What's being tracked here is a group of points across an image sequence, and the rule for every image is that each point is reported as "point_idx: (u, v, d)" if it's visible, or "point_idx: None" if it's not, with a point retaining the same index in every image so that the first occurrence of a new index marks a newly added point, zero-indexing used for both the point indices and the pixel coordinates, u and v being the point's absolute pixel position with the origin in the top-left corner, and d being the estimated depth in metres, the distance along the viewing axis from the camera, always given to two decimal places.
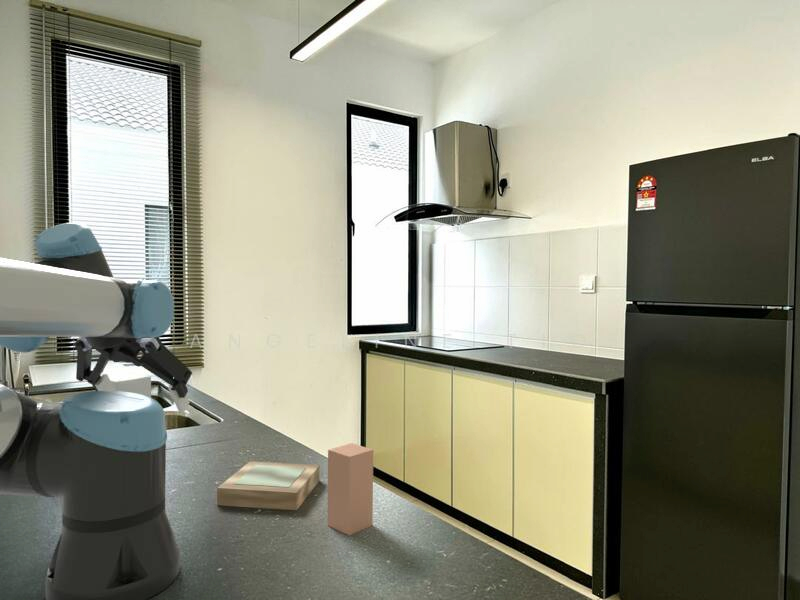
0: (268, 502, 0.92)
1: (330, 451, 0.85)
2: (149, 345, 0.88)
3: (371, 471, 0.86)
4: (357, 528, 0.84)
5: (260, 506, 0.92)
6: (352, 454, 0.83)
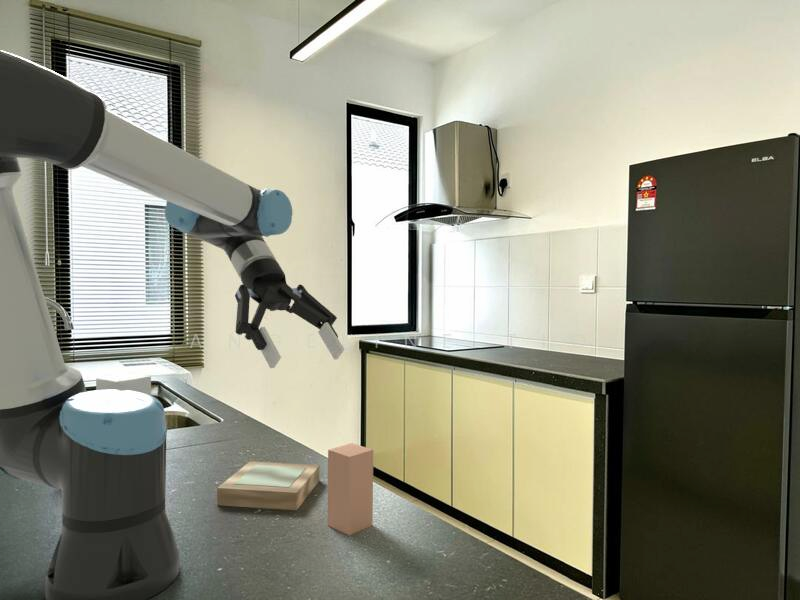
0: (268, 502, 0.92)
1: (330, 451, 0.85)
2: (301, 285, 1.04)
3: (371, 471, 0.86)
4: (357, 528, 0.84)
5: (260, 506, 0.92)
6: (352, 454, 0.83)
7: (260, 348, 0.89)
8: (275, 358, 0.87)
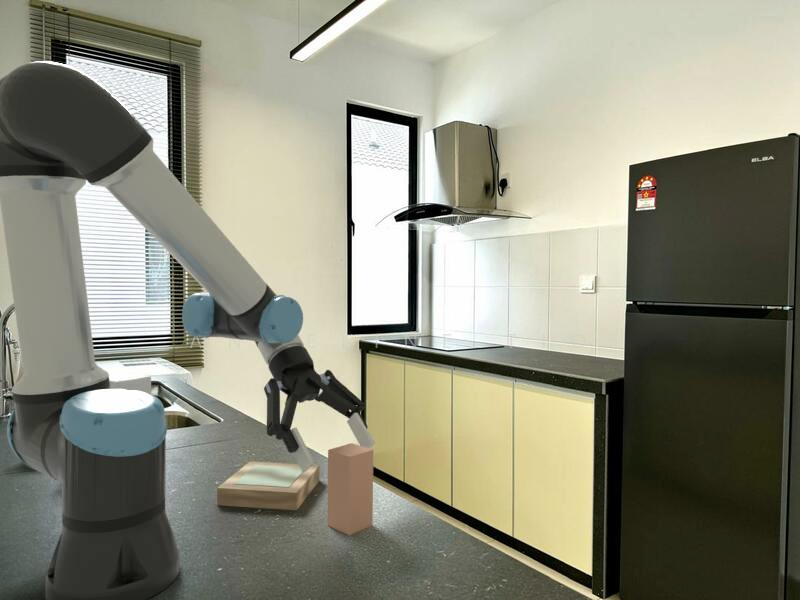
0: (268, 502, 0.92)
1: (330, 451, 0.85)
2: (329, 370, 1.02)
3: (371, 471, 0.86)
4: (357, 528, 0.84)
5: (260, 506, 0.92)
6: (352, 454, 0.83)
7: (293, 451, 0.86)
8: (308, 463, 0.85)
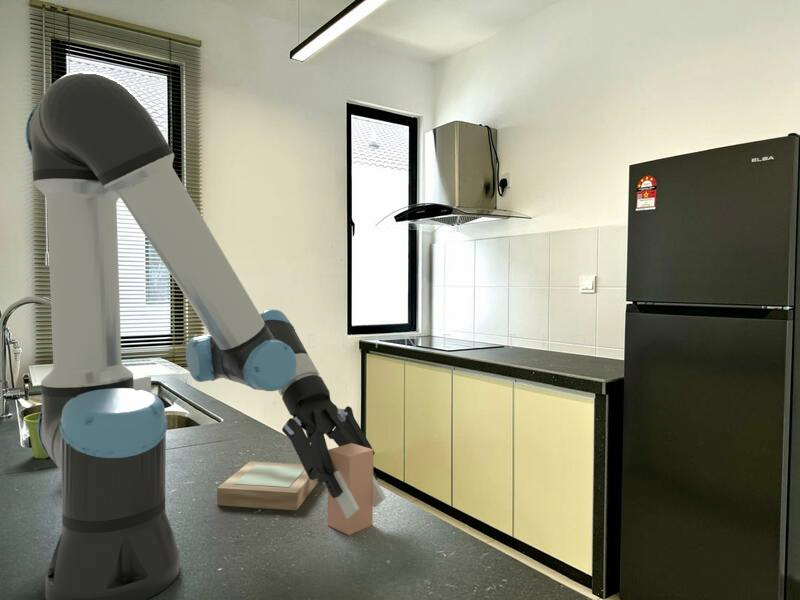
0: (268, 502, 0.92)
1: (330, 451, 0.85)
2: (350, 407, 0.95)
3: (371, 471, 0.86)
4: (357, 528, 0.84)
5: (260, 506, 0.92)
6: (352, 454, 0.83)
7: (336, 496, 0.82)
8: (353, 509, 0.81)
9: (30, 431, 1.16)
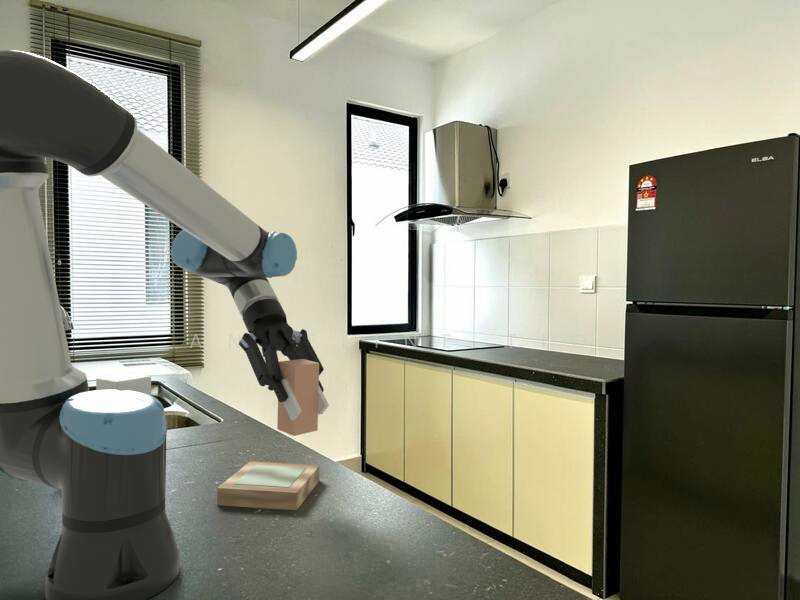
0: (268, 502, 0.92)
1: (280, 362, 0.95)
2: (305, 330, 1.05)
3: (317, 382, 0.95)
4: (302, 431, 0.94)
5: (260, 506, 0.92)
6: (298, 364, 0.93)
7: (282, 400, 0.92)
8: (296, 411, 0.91)
9: None
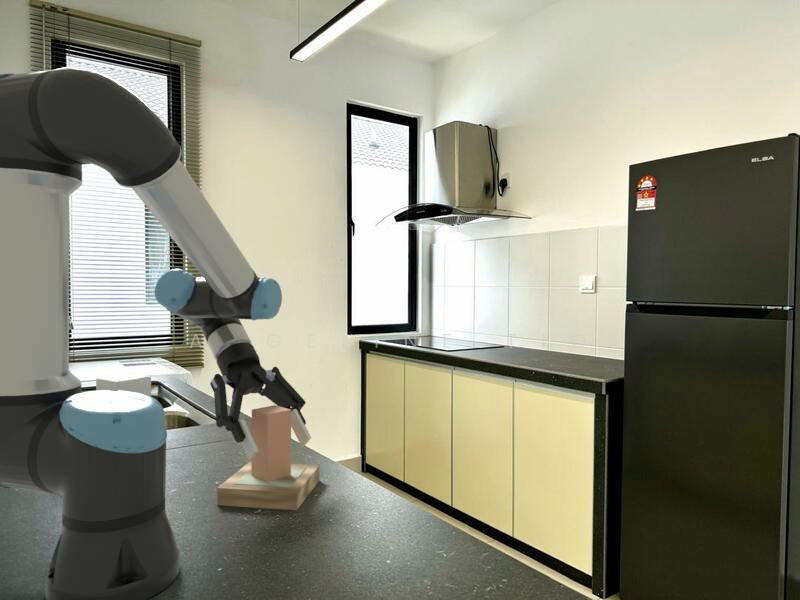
0: (268, 502, 0.92)
1: (253, 410, 0.98)
2: (276, 367, 1.09)
3: (289, 428, 0.99)
4: (275, 477, 0.97)
5: (260, 506, 0.92)
6: (271, 412, 0.96)
7: (239, 441, 0.94)
8: (253, 451, 0.92)
9: None
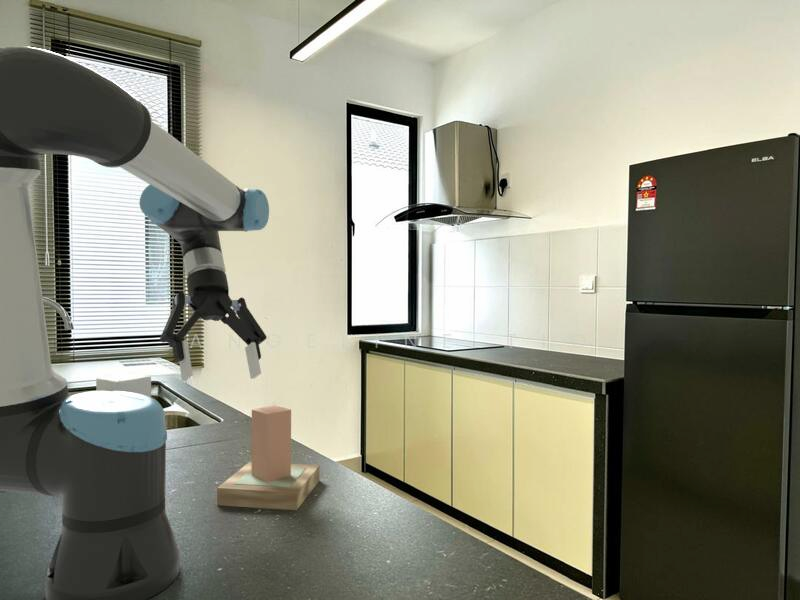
0: (268, 502, 0.92)
1: (253, 410, 0.98)
2: (243, 298, 1.10)
3: (289, 428, 0.99)
4: (275, 477, 0.97)
5: (260, 506, 0.92)
6: (271, 412, 0.96)
7: (177, 360, 0.96)
8: (187, 374, 0.95)
9: None
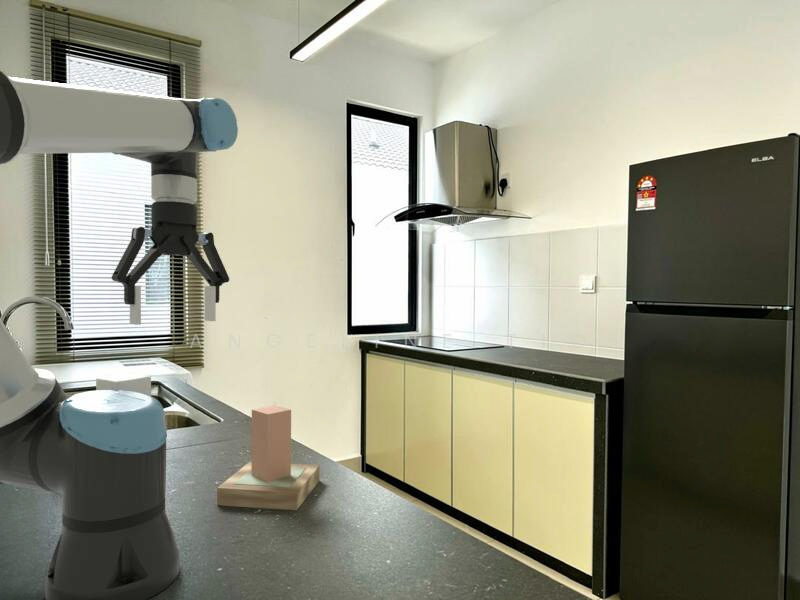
0: (268, 502, 0.92)
1: (253, 410, 0.98)
2: (211, 233, 1.01)
3: (289, 428, 0.99)
4: (275, 477, 0.97)
5: (260, 506, 0.92)
6: (271, 412, 0.96)
7: None
8: (135, 323, 0.92)
9: None
